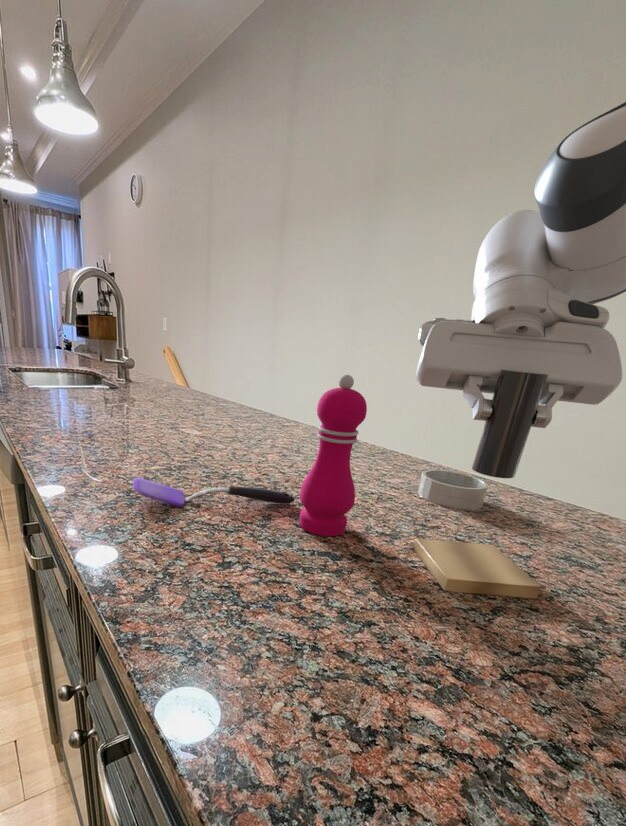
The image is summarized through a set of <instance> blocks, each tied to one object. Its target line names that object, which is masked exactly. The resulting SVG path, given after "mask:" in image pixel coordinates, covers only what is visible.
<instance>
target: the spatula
mask: <svg viewBox="0 0 626 826" xmlns="http://www.w3.org/2000/svg"><path fill="white" fill-rule="evenodd" d="M132 488H133V490H134V491H135V492H137V493H138V494H139V495H141V496H143V497H145V498H148V499H153V500H156V501H160V502H164V503H167V504H170V505H173V506H176V507H180V508H182V507H184V506H185V504H186V503H190V502H191V501H193V500H194V499H197V498H199V497H202V496H205V495H208V494H215V493H228V494H229V495H231V496H237V497H242V498H247V499H252V500H256V501H262V502H267V503H271V504H272V503H273V504H274V503H275V504H292V503H293V502H295V497H294V496H293V495H291V494H289V493H286V492H283V491H278V490H273V489H267V488H257V487H249V486H248V487H247V486H238V485H229V486H228V487H213V488H207V489H205V490H200V491H199V492H196V493H194V494H192V495H190V496H187V497H186V496H185V493H184V491H182V490H180V489H178V488H174V487H172V486H168V485H165V484H162V483H159V482H154V481H151V480H148V479H145V478H142V477H134V479H133V482H132Z"/></svg>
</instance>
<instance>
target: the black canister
mask: <svg viewBox="0 0 626 826" xmlns="http://www.w3.org/2000/svg"><path fill="white" fill-rule="evenodd" d="M547 378H548V374H544V373H536V372H527V371H517V370H507V369H501V370H500V373H499V376H498V380H497V383H496V387H495V390H494V394H492V397H491V400H492V402H493V405H492V408H493V411H492V414H491V416H490V417H489V418H488V420H487V421H484V424H483V428H482V432H481V435H480V438H479V442H478V445H477V449H476V452H475V456H474V459H473V463H472V465H471V470H473V471H474V472H476V473H477V474H481V475H483V476H487V477H491V478H497V479H513V478H515V477H516V473H517V471H518V468H519V466H520V462H521V459H522V456H523V453H524V451H525V447H526V444H527V441H528V437H529V435H530V431H531V428H532V427H531V426H532V423H533V420H534V417H535V414H536V411H537V408H538V405H540V399H541V396H542V393H543V390H544V387H545V384H546V381H547Z"/></svg>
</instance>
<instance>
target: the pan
mask: <svg viewBox="0 0 626 826" xmlns="http://www.w3.org/2000/svg"><path fill="white" fill-rule="evenodd" d="M488 490H489V484H488V482H486V481H485V480H483V479H482V478H479V477H476V476H474V475H470V474H467V473H463V472H458V471H454V470H453V471H452V470H446V469H426V470H424V471H422V472H421V476H420V479H419V483H418V487H417V494H418V496H419V497H421V498H422V499H424V500H425V501H428V502H430V503H433V504H436V505H438V506H442V507H447V508H452V509H458V510H478V509H480V508H482V507H483V506H484V502H485V499H486V495H487V493H488Z"/></svg>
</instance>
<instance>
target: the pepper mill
mask: <svg viewBox="0 0 626 826" xmlns="http://www.w3.org/2000/svg"><path fill="white" fill-rule="evenodd" d="M354 383H355V380H354V378H353V376H352V375H350V374H343V375H342V376H340V378H339V380H338V387H333V388H330V389H329V390H327V391H326V392H324V393H323V394H322V395H321V396H320V398H319V399H318V402H317V406H316V415H317V417H318V420H319V421H320V423H321V425H318V427H317V430H318V432H317V433H316V437H317V438H318V439H319V445H318V451H317V455H316V458H315V461H314V463H313V465H312V467H311V469H310V470H309V472H308V474H307V475H306V477H305V478H304V479H303V482H302V484H301V487H300V491H299V500H300V501H299V502H300V503H301V504H302V506H303V507H304V508H303V509H302V510H301V511H300V514H299V521H298V522H299V526H300V527H301V529H303V530H304V531H306V532H308V533H311V534H313V535H317V536H322V537H336V536H337V537H338V536H341V535H343V534H344V533H345V532H346V528H347V527H346V526H347V523H348V517H347V516H346V514H347V513H348V512H350V511H351V510H352V508H353V507H354V505H355V501H356V489H355V485H354V480H353V477H352V472H351V471H352V470H351V453H352V449H353V445H354V444H355V443H357V442H358V435H359V430H357V428H358V427H359V426H361V424H362V423H363V422H364V421H365V419H366V417H367V411H368V408H367V407H368V406H367V401H366V399H365V397H364V395H362V394H361V393H360V392H359V391H357V390H355V389H353V386H354Z"/></svg>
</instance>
